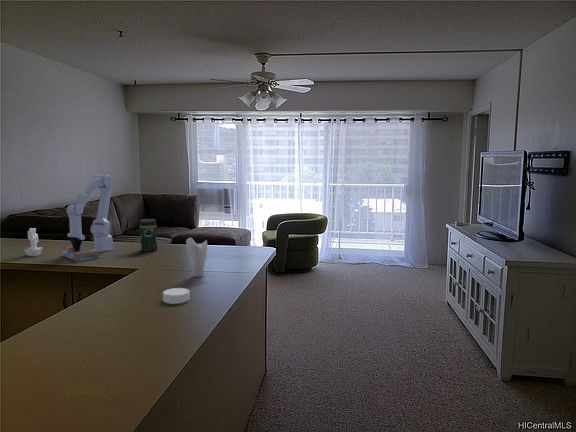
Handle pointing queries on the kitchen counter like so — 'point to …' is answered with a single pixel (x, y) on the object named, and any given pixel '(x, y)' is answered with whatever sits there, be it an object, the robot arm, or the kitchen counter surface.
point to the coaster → (176, 295)
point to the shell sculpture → (196, 256)
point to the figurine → (33, 243)
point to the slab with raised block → (69, 251)
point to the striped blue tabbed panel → (83, 255)
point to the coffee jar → (148, 235)
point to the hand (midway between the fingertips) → (76, 251)
